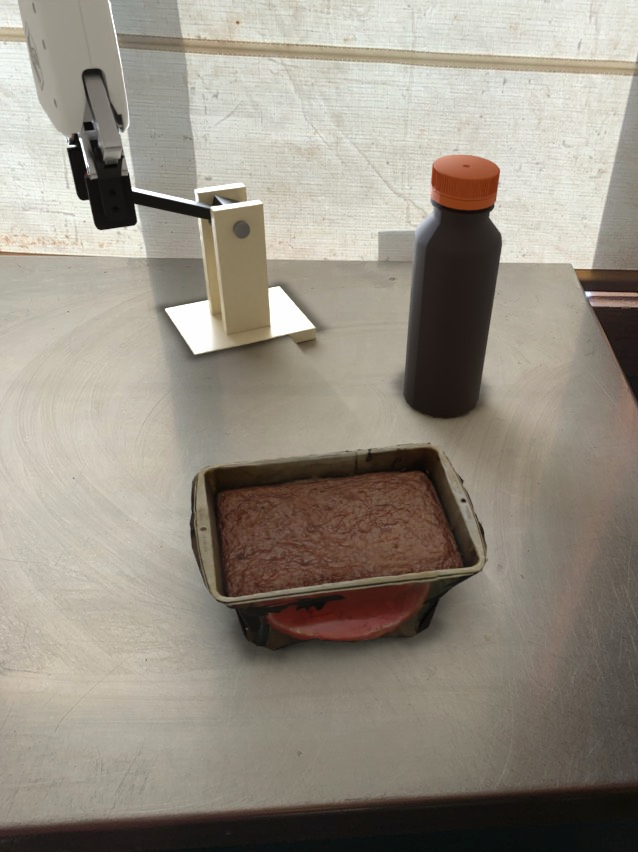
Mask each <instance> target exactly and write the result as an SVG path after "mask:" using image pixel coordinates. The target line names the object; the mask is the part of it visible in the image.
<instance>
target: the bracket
mask: <svg viewBox="0 0 638 852" xmlns="http://www.w3.org/2000/svg"><path fill="white" fill-rule="evenodd" d="M193 190H194V198H195V202H200V203H204V204H209V205H212V203H213V199H214V196H219V197H224V198H228V199H232V200H236V201H241V202H240V203H233V204H227V205H220V206H213V207H210V212H211V221H212V226H211V225H210V224H209V223H208V221H209V220H206V219H202V218H197V223H198V231H199V238H200V248H201V254H202V255H201V256H202V263H203V272H204V281H205V286H206V287H205V288H206V296H207V300H202V301H197V302H193V303H186V304H182V305H177V306H172V307H166V308H164V311H165V313H166V315H167V316H168V317H169V319H170V320H171V322H172V323H173V325H174V326H175V328H176V329H177V332H178V333H179V335H181V337H182V339H183V340H184V342H185V343H186V345H187V346H188V348H189V350H190V351H191V352H192V354H193V355H194V356H200V355H204V354H209V353H214V352H218V351H223V350H227V349H231V348H235V347H240V346H246V345H249V344H253V343H258V342H262V341H263V342H264V341H268V340H272V339H276V338H282V337H286V336H288V337H290V339H291V340H292V341H293V342H294V343H295V344H299V343H302V342H307V341H311V340H316V339H317V327H316V326H315V325H314V324H313V323H312V322H311V320H310V319H309V318H308V317H307V316H306V314H304V313H303V311H302V310H301V309H300V308H299V307H298V306H297V305H296V304H295V302H294V301H293V300H292V299H291V297H289V295H288V294H287V293H286V291H284V289H282V288H281V286H274V287H269V275H268V259H267V243H266V229H265V214H264V213H265V212H264V203H263V202H262V201H261V200H260V199H255V200H254V199H253V200H249V201H248V194H247V186H246V185H245V184H244V183H243V182H236V183H230V184H222V185H215V186H207V187H201V188H199V187H198V188H195V189H193Z"/></svg>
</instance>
